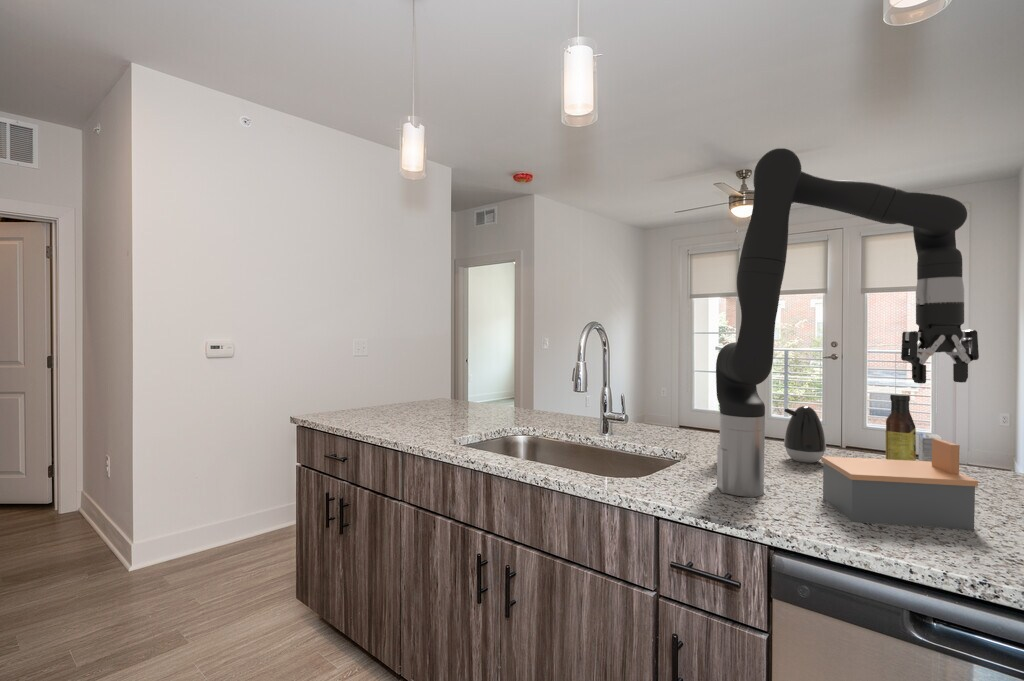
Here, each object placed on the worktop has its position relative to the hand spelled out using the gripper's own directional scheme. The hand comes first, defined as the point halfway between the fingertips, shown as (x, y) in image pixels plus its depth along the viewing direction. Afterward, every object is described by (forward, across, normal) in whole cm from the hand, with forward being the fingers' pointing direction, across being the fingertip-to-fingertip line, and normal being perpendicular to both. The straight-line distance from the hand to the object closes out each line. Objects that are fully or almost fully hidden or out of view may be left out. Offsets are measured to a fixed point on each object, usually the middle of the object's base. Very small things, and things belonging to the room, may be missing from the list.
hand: (939, 382), depth 105 cm
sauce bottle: (+26, -16, -28) cm, 41 cm away
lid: (+18, +11, +1) cm, 21 cm away
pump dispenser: (+26, +2, -41) cm, 49 cm away
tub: (+26, +11, +1) cm, 28 cm away
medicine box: (+26, -27, -32) cm, 49 cm away
